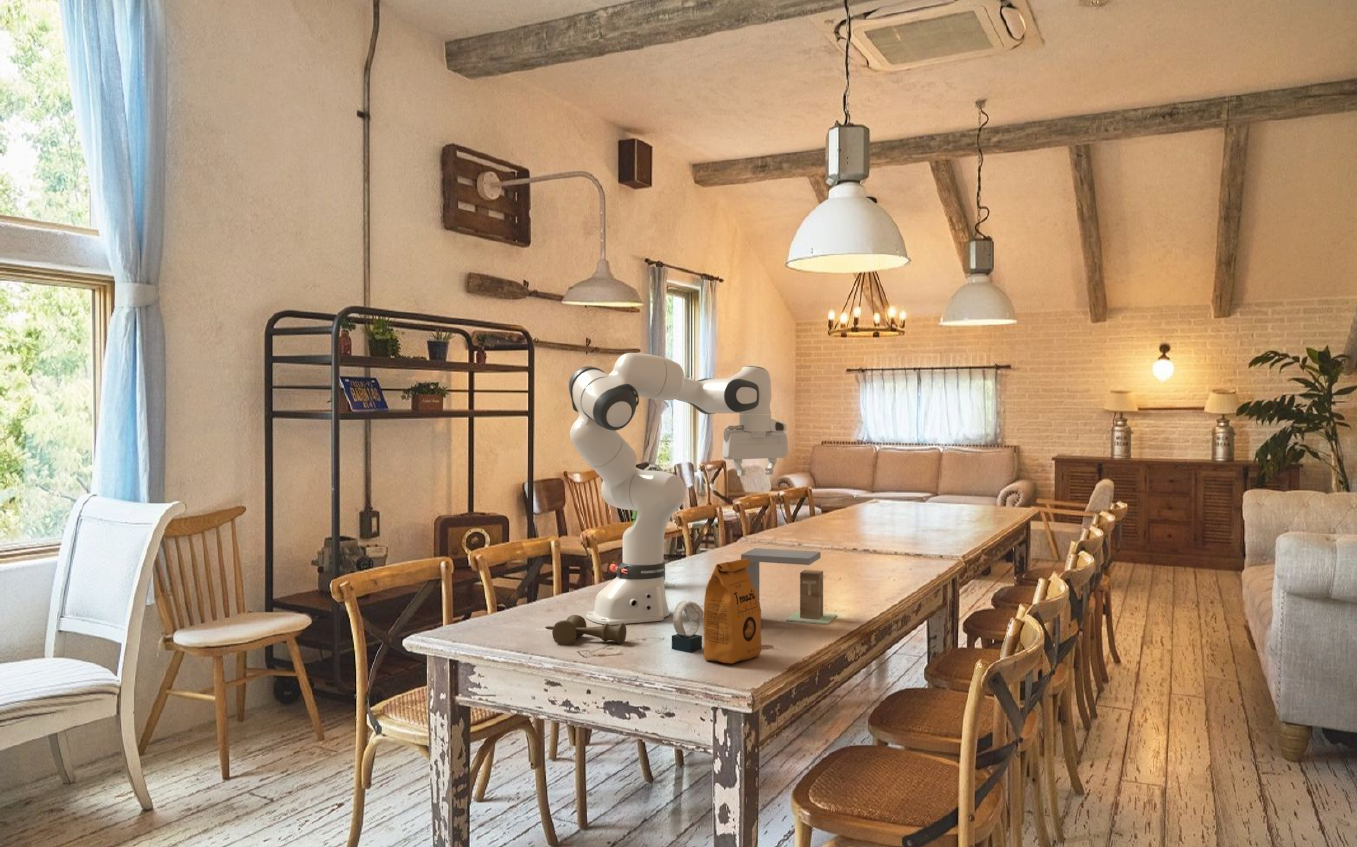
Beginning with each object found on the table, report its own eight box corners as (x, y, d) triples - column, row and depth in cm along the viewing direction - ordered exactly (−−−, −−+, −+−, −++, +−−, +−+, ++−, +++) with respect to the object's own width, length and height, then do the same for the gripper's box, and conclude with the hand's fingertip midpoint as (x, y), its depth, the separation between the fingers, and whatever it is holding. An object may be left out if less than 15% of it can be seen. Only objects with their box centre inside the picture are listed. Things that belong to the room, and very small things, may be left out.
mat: (796, 612, 258) (796, 611, 258) (836, 615, 253) (836, 614, 253) (786, 621, 247) (786, 619, 247) (827, 624, 243) (827, 623, 243)
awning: (755, 617, 251) (755, 548, 251) (820, 623, 244) (820, 551, 244) (741, 627, 240) (741, 554, 240) (809, 633, 233) (809, 558, 233)
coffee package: (768, 658, 211) (768, 559, 210) (730, 669, 202) (730, 566, 202) (735, 650, 218) (735, 554, 217) (697, 660, 209) (697, 561, 209)
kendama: (618, 651, 220) (537, 644, 224) (629, 642, 229) (551, 635, 233) (619, 625, 220) (538, 618, 224) (630, 617, 229) (552, 611, 233)
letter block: (804, 614, 254) (804, 569, 253) (823, 615, 252) (823, 570, 252) (799, 618, 249) (799, 572, 249) (818, 619, 247) (818, 573, 247)
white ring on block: (707, 647, 220) (707, 600, 220) (685, 654, 214) (685, 605, 214) (688, 643, 224) (688, 597, 224) (666, 650, 218) (666, 602, 217)
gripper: (730, 425, 253) (730, 477, 254) (791, 425, 264) (791, 474, 264) (717, 425, 259) (717, 475, 259) (777, 424, 269) (777, 473, 270)
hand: (755, 475), depth 262 cm, fingers open, 8 cm apart
